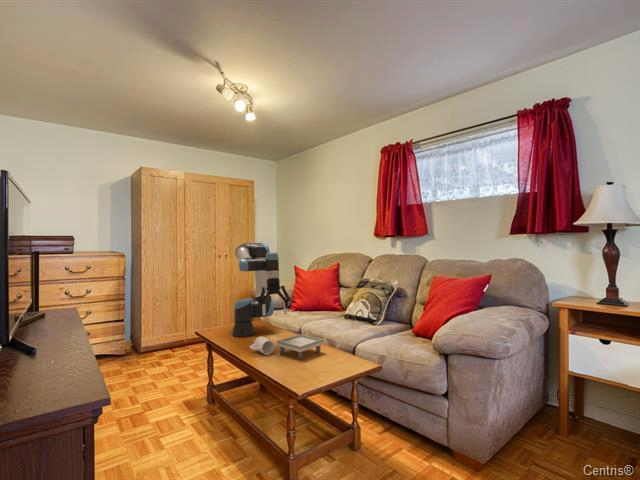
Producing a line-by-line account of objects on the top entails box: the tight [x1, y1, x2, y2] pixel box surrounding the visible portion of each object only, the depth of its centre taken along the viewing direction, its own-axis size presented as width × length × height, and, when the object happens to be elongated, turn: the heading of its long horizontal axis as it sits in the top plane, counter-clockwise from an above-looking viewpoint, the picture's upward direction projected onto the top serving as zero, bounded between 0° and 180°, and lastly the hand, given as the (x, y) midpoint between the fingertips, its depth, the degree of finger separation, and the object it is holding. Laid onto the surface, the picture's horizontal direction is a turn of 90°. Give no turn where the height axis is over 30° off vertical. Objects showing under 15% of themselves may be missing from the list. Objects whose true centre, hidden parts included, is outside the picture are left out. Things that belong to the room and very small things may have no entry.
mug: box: [249, 335, 275, 356], centre depth 191 cm, size 12×10×8 cm
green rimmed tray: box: [276, 333, 324, 361], centre depth 190 cm, size 18×18×7 cm
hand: (274, 314), depth 201 cm, fingers open, 13 cm apart
